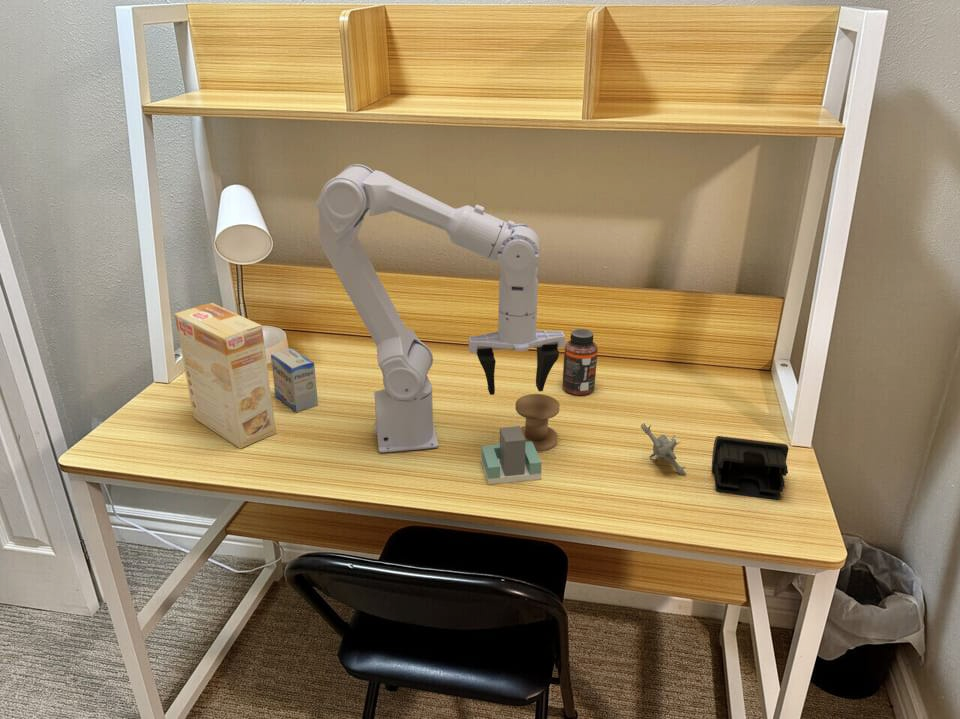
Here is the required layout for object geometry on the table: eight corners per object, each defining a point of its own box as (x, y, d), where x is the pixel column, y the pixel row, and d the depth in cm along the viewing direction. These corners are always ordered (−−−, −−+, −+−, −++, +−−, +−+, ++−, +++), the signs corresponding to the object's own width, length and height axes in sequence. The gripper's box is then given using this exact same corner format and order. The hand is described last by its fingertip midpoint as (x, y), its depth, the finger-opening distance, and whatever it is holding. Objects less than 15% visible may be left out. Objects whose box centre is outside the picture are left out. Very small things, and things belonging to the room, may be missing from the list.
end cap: (778, 474, 115) (786, 436, 112) (784, 501, 108) (792, 462, 105) (710, 465, 117) (716, 428, 114) (712, 492, 110) (718, 453, 108)
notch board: (488, 484, 112) (488, 467, 110) (481, 462, 117) (481, 445, 116) (540, 479, 113) (541, 462, 112) (531, 457, 118) (532, 441, 117)
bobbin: (519, 453, 119) (521, 417, 117) (510, 430, 126) (511, 395, 123) (562, 449, 121) (564, 413, 118) (551, 427, 127) (553, 392, 124)
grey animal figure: (701, 455, 119) (700, 467, 111) (671, 478, 121) (668, 491, 112) (659, 406, 121) (655, 414, 112) (630, 429, 123) (624, 438, 114)
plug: (504, 476, 112) (505, 441, 109) (499, 461, 115) (500, 427, 113) (524, 474, 112) (525, 440, 110) (518, 459, 116) (519, 426, 113)
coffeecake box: (278, 433, 125) (263, 324, 116) (239, 450, 120) (222, 338, 111) (229, 403, 134) (212, 300, 125) (192, 418, 129) (172, 312, 121)
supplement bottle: (593, 398, 136) (598, 340, 131) (560, 394, 137) (563, 338, 132) (595, 383, 141) (600, 327, 136) (563, 380, 142) (567, 324, 137)
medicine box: (274, 397, 136) (269, 353, 132) (296, 389, 139) (291, 346, 135) (296, 413, 131) (291, 368, 127) (319, 405, 133) (314, 361, 130)
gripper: (473, 322, 107) (473, 405, 113) (572, 316, 109) (567, 399, 115) (466, 304, 113) (466, 384, 119) (560, 299, 115) (556, 378, 121)
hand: (515, 390), depth 118 cm, fingers open, 7 cm apart
